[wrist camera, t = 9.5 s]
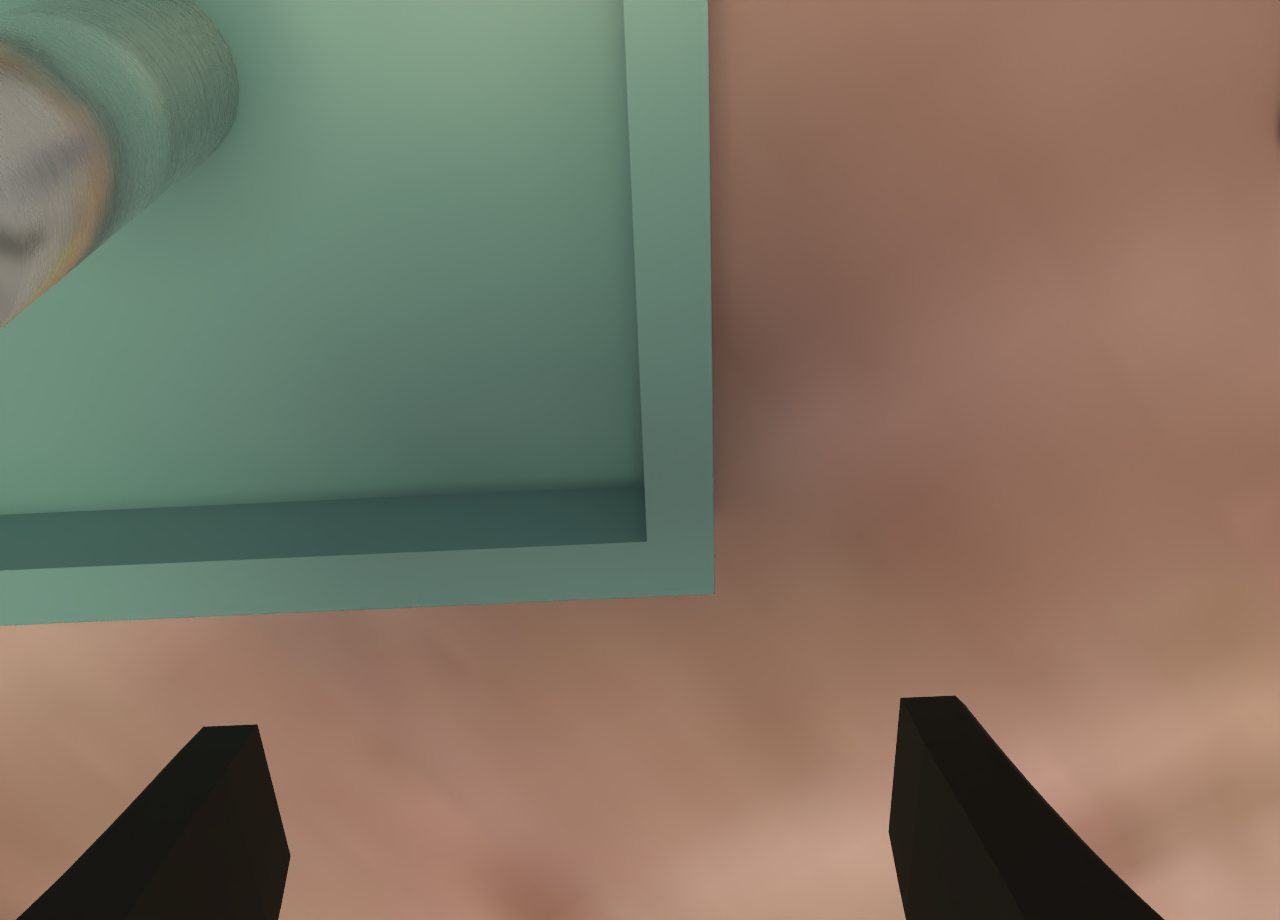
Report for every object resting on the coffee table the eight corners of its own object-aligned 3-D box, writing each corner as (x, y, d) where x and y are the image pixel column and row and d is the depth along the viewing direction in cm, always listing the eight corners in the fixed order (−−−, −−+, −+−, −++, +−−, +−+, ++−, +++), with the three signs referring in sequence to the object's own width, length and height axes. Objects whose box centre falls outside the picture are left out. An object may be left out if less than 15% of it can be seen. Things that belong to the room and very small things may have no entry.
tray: (686, -665, 15) (699, -750, 13) (705, 520, 24) (715, 594, 22) (-699, -601, 15) (-930, -674, 13) (-180, 559, 24) (-264, 637, 22)
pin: (228, -17, 18) (-12, 85, 11) (248, 174, 20) (46, 371, 13) (31, -28, 18) (-336, 69, 11) (66, 166, 20) (-240, 359, 13)
